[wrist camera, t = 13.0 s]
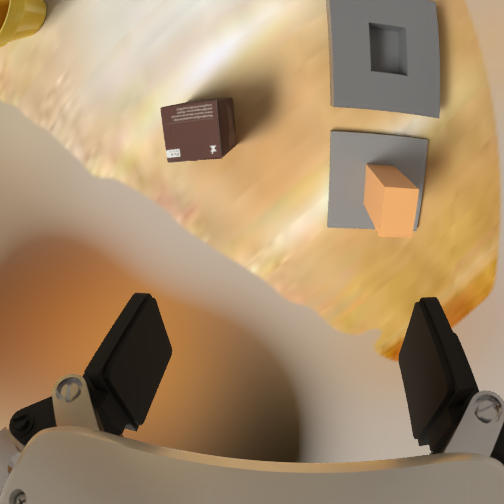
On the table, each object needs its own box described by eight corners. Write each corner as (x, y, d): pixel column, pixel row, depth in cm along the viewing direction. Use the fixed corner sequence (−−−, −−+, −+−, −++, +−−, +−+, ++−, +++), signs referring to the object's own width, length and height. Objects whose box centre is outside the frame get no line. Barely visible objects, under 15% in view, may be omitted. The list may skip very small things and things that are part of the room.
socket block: (325, -6, 25) (328, -15, 22) (424, 8, 24) (435, 2, 21) (330, 105, 32) (333, 106, 29) (427, 115, 30) (439, 118, 27)
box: (233, 97, 33) (218, 98, 27) (237, 146, 36) (223, 159, 30) (184, 102, 34) (158, 106, 28) (189, 149, 37) (166, 163, 31)
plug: (366, 164, 34) (384, 186, 26) (393, 165, 34) (419, 189, 26) (363, 203, 37) (379, 236, 29) (390, 205, 36) (411, 237, 28)
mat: (330, 130, 34) (331, 131, 33) (426, 139, 32) (428, 140, 31) (327, 225, 39) (327, 227, 39) (414, 229, 38) (416, 231, 37)
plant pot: (66, 1, 27) (20, -6, 19) (32, 57, 32) (-14, 62, 23) (37, -19, 25) (-6, -25, 16) (6, 32, 29) (-36, 35, 21)
